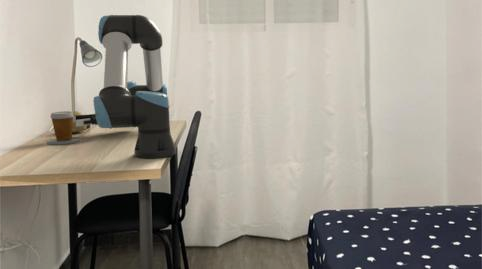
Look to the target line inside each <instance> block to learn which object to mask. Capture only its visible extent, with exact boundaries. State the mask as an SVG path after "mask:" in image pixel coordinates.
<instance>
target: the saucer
mask: <svg viewBox="0 0 482 269" xmlns="http://www.w3.org/2000/svg"><path fill="white" fill-rule="evenodd" d="M80 141H81V142H82V138H81V137H76V136H75V137H74V136H72V140H69V141H57V140H56V138H51V139H48V140H47V141H46V144H47V145H49V146H50V145H51V146H65V145H73V144H74V145H75V144H78V143H81V142H80Z"/></svg>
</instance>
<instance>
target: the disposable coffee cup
mask: <svg viewBox="0 0 482 269" xmlns="http://www.w3.org/2000/svg"><path fill="white" fill-rule="evenodd" d="M73 112H74V111H66V110H65V111H55V112H51V113H50V119H51V121H52V127H53V130H54V135H55V139H56V140H57V141H69V140H72V137H73V133H72V128H73V116H74V115H73Z"/></svg>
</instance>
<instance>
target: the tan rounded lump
mask: <svg viewBox="0 0 482 269" xmlns="http://www.w3.org/2000/svg"><path fill="white" fill-rule="evenodd" d="M72 112H73V115H83V114H82V113H81V112H79V111H77V110H75V111H72ZM87 127H88V125H85V126H77V127H76V123H75V122H73V128H72V134H73V133H80V132H84V131H86V130H87Z"/></svg>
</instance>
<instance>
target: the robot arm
mask: <svg viewBox="0 0 482 269" xmlns="http://www.w3.org/2000/svg"><path fill="white" fill-rule="evenodd" d="M97 32H98V33H97V34H98V40H99V43H100V44H101V45H102V46H103V48H104V49H105V55H104V56H105V57H104V74H103V76H104V77H103V88H101V89H100V91H99V93H98V95H96V96H94V97H93V110H94V113H92V114H82V115H74V116H73V122H75V123H76V127H77V126H85V125H87V126H90V125H95V126H97V127H99V128H100V129H110V130H111V129H117V128H119V129H121V128H122V129H123V128H124V129H125V128H137V129H138V130H137V134H138V135H137V139H136V142H135V147H134V151H133V152H134V156H135V157H137V158H140V159H160V157H162V158H166V157H167V158H168V157H172V156H174V155H176V154H177V147H176V145H175V142H174V140H173V137H172V133H171V122H170V104H169V103H170V102H169V101H170V100H169V96H168V86H167V84H164V83H163V82H164V81H163V71H162V70H163V68H162V55H161V52H162V51H161V48H162V47H163V36H162V34H161V33H162V32H161V31H160V30H159V27H158V26H157V25H156V24H155V23H154V21H152V20H151V19H150V18H149V17H147V16H144V15H140V14H130V15H129V14H123V15H122V14H109V15H103V16H101V17H100V18H99V22H98V31H97ZM137 44H138V45H139V46H140V48H141V49H142V55H143V63H144V74H145V83H146V84H144V85H143V84H138V85H137V82H136V81H128V70H129V69H128V67H129V66H128V63H129V59H128V58H129V57H128V56H129V51H130V49H131V48H132V46H133V45H137Z"/></svg>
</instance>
